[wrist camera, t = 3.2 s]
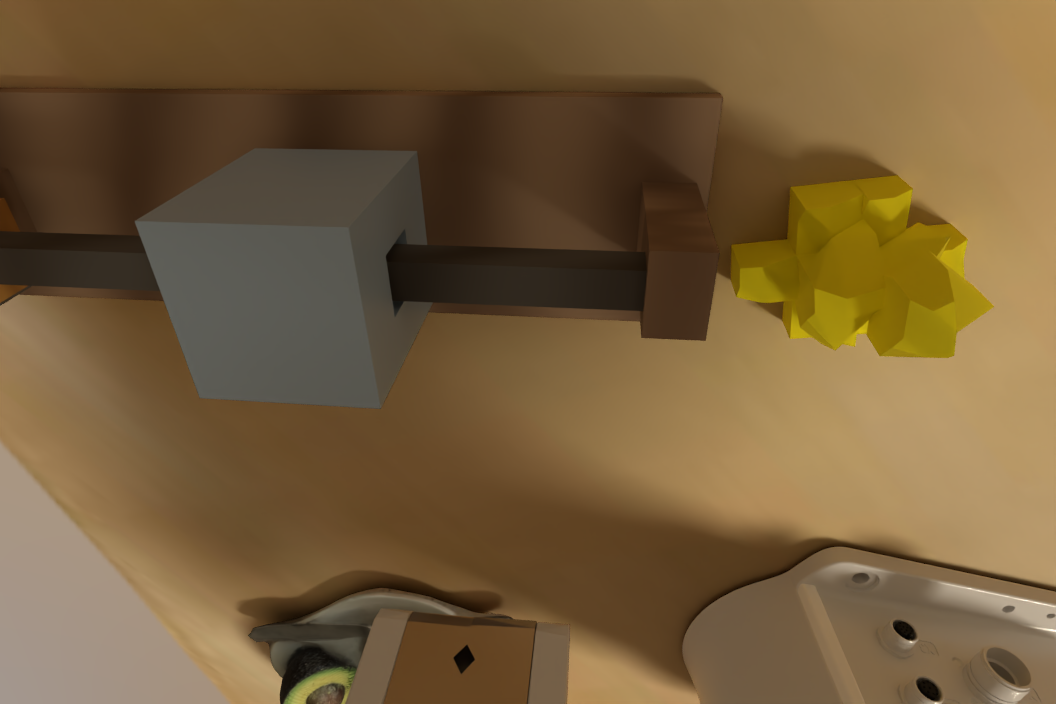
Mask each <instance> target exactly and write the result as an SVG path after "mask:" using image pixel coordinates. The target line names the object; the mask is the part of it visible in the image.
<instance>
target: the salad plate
mask: <svg viewBox="0 0 1056 704" xmlns="http://www.w3.org/2000/svg"><path fill="white" fill-rule="evenodd" d="M380 609H394V610H407V611H414V612H422V613H433V614H444V615H455V616H466V617H486V618H501V619H513V618H511V617H509V616H506V615H501V614H493V613H490V614H489V613H477V612H472V611H470V610H467V609H464V608H461V607H458V606H455V605H452V604H449V603H446V602H443V601H440V600H437V599H435V598H432V597H429V596H424V595H420V594H415V593H410V592H405V591H400V590H395V589H390V588H376V589H370V590H365V591H362V592H358V593H355V594H352V595H349V596H346V597H344V598H342V599H340V600H337V601H336V602H334V603H332V604H330V605H328V606H326V607H324V608H322V609H320V610H318V611H316V612H313V613H311V614H308V615H306V616H303V617H300V618H296V619H292V620H287V621H282V622H277V623H272V624H267V625H263V626H258V627H255V628H253V629H252V631H251V633H250V634H249V635H248V636H249V637H250V638H252V639H253V640H254V641H256V642H263V641H264V642H267V643H268V644H269V647H270V658H271V663H272V665H273V668H274V669H275V671H276V672H277V673H278V674H279V675H280V677H282V678H283V679H282V684H281V690H280V704H345V703H346V700H347V697H348V694H349V691H350V688H351V685H352V682H353V679H354V677H355V674H356V671H357V668H358V665H359V662H360V659H361V656H362V653H363V650H364V647H365V645H366V642H367V639H368V636H369V633H370V630H371V627H372V624H373V621H374V619H375V617H376V616H377V614H378V612H379V611H380Z"/></svg>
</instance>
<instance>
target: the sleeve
mask: <svg viewBox="0 0 1056 704" xmlns="http://www.w3.org/2000/svg"><path fill="white" fill-rule="evenodd" d="M135 224H136V226H137V229H138V232H139V235H140V237H141V240H142V243H143V245H144V248H145V251H146V254H147V256H148V259H149V262H150V264H151V267H152V270H153V273H154V275H155V278H156V281H157V283H158V286H159V289H160V292H161V294H162V297H163V300H164V302H165V305H166V308H167V311H168V313H169V316H170V319H171V321H172V324H173V327H174V330H175V332H176V335H177V338H178V340H179V343H180V346H181V349H182V351H183V354H184V357H185V359H186V362H187V365H188V368H189V370H190V373H191V376H192V378H193V381H194V384H195V387H196V389H197V392H198V395H199V397H200V398H206V399H223V400H240V401H257V402H273V403H290V404H307V405H324V406H341V407H357V408H374V409H381V407H382V405H383V403H384V401H385V399H386V397H387V395H388V393H389V391H390V389H391V387H392V385H393V383H394V381H395V379H396V377H397V375H398V373H399V371H400V369H401V367H402V365H403V363H404V361H405V358H406V356H407V354H408V352H409V350H410V348H411V346H412V344H413V342H414V340H415V338H416V336H417V334H418V332H419V330H420V328H421V326H422V324H423V322H424V320H425V318H426V316H427V314H428V312H429V309H430V307H431V305H432V303H433V302H409V301H392V295H391V288H390V281H389V275H388V268H387V261H386V255H387V253H388V252H389V250H390V249H391V248H392V246H393V245H394V244H415V245H427V237H426V228H425V219H424V210H423V201H422V191H421V182H420V173H419V164H418V155H417V151H386V150H327V149H269V148H255V149H253V150H251V151H250V152H248V153H246V154H245V155H243V156H241V157H240V158H238V159H236V160H235V161H233V162H231V163H230V164H228V165H226V166H225V167H223V168H221V169H220V170H218V171H217V172H215V173H213V174H212V175H210V176H208V177H207V178H205V179H203V180H202V181H200V182H198V183H197V184H195V185H193V186H192V187H190V188H188V189H187V190H185V191H183V192H182V193H180V194H179V195H177V196H175V197H174V198H172V199H170V200H169V201H167V202H165V203H164V204H162V205H160V206H159V207H157V208H155V209H154V210H152V211H150V212H149V213H147V214H145V215H144V216H142V217H141V218H139V219H137V220H136V221H135Z"/></svg>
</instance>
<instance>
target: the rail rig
mask: <svg viewBox="0 0 1056 704" xmlns="http://www.w3.org/2000/svg"><path fill="white" fill-rule="evenodd" d="M722 102H723V97H722V96H721V94H720V93H635V92H495V91H355V90H214V89H74V88H0V305H2V304H4V303H5V302H7V301H9V300H10V299H12V298H13V297H15V296H17V295H18V294H20V295H43V296H66V297H89V298H112V299H135V300H159V301H164V300H163V297H162V294H161V292H160V289H159V286H158V283H157V281H156V278H155V275H154V273H153V270H152V267H151V264H150V262H149V259H148V256H147V254H146V251H145V248H144V245H143V243H142V240H141V237H140V235H139V232H138V229H137V226H136V224H135V221H136V220H137V219H139V218H141V217H142V216H144V215H145V214H147V213H149V212H150V211H152V210H154V209H155V208H157V207H159V206H160V205H162V204H164V203H165V202H167V201H169V200H170V199H172V198H174V197H175V196H177V195H179V194H180V193H182V192H183V191H185V190H187V189H188V188H190V187H192V186H193V185H195V184H197V183H198V182H200V181H202V180H203V179H205V178H207V177H208V176H210V175H212V174H213V173H215V172H217V171H218V170H220V169H221V168H223V167H225V166H226V165H228V164H230V163H231V162H233V161H235V160H236V159H238V158H240V157H241V156H243V155H245V154H246V153H248V152H250V151H251V150H253V149H255V148H269V149H327V150H386V151H417V155H418V164H419V173H420V182H421V191H422V201H423V210H424V219H425V228H426V237H427V245H415V244H394V245H393V246H392V248H391V249H390V250H389V252H388V253H387V255H386V261H387V268H388V275H389V281H390V288H391V295H392V301H409V302H433V303H432V305H431V307H430V309H429V312H436V313H459V314H482V315H505V316H528V317H552V318H575V319H598V320H621V321H640V323H641V338H658V339H679V340H701V341H706V335H707V329H708V322H709V316H710V310H711V304H712V297H713V291H714V285H715V279H716V272H717V266H718V260H719V250H718V247H717V244H716V241H715V237H714V234H713V231H712V228H711V225H710V222H709V219H708V216H707V207H708V200H709V193H710V186H711V179H712V172H713V165H714V158H715V151H716V144H717V137H718V130H719V123H720V116H721V109H722Z"/></svg>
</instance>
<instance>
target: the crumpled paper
mask: <svg viewBox="0 0 1056 704" xmlns="http://www.w3.org/2000/svg"><path fill="white" fill-rule="evenodd" d="M912 191H913V188H912V187H910V186H909V185H908V184H907V183H906V182H905V181H903V180H902V179H901V178H900V177H899V176H898V175H895V176H885V177H876V178H867V179H858V180H849V181H840V182H831V183H822V184H813V185H803V186H794V187H790V202H789V218H788V235H787V239H785V240H774V241H764V242H754V243H743V244H733V245H731V282H732V285H733V288H734V291H735V294H736V297H738V298H742V299H747V300H751V301H756V302H760V303H773V302H782V301H783V317H782V321H783V323H784V326H785V328H786V330H787V333H788V335H789V338H790V339H795V338H809V337H811V338H814V339H816V340H817V341H818V342H820V343H821V344H823V345H825V346H827V347H829V348H831V349H833V350H836V349H837V348H839V347H840V346H841V345H842V344H845V345H849V346H854V347H855V342H856V335H857V334H866V333H867V334H866V335H867V336H868V338H869V339H870V341H871V343H872V344H873V346H874V348H875V349H876V351H877V352H878V354H879V356H894V357H929V358H949V357H952V356H954V352H955V343H956V334H957V332H959V331H960V330H961V329H963V328H964V327H966V326H967V325H969V324H970V323H971V322H973V321H974V320H976V319H977V318H979V317H980V316H982V315H983V314H984V313H986V312H987V311H989V310H990V309H992V308H993V307H994V306H993V305H992V304H991V303H990V302H989V301H988V300H987V299H986V298H985V297H984V296H983V295H982V294H981V293H980V292H979V291H978V290H977V289H976V288H975V287H974V286H973V285H972V284H970V283H969V282H968V281H967V280H965V279H964V262H963V259H964V254H965V250H966V245H967V241H968V239H967V238H966V237H965V236H964V235H962V234H961V233H960V232H959V231H958V230H957V229H956V228H955V227H953V226H952V225H951V224H941V225H931V226H926V225H924V224H921V223H919V222H918V223H916V224H914V225H913V226H911V227H910V228H906V227H907V221H908V215H909V209H910V203H911V197H912Z"/></svg>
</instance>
